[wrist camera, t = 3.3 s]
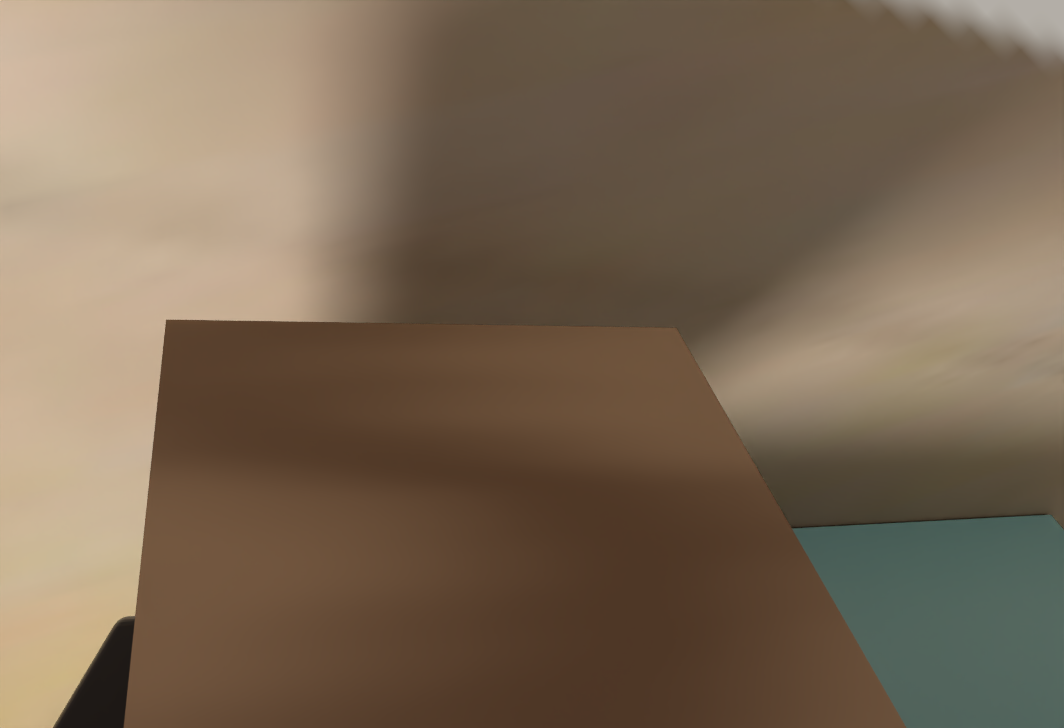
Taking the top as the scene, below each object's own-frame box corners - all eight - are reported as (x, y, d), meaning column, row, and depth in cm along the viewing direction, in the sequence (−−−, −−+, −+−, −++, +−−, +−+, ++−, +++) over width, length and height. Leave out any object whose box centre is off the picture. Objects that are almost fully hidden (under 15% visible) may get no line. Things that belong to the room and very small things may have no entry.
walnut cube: (183, 657, 12) (155, 1181, 8) (165, 320, 9) (105, 902, 5) (576, 624, 13) (711, 1053, 9) (676, 327, 10) (937, 778, 6)
